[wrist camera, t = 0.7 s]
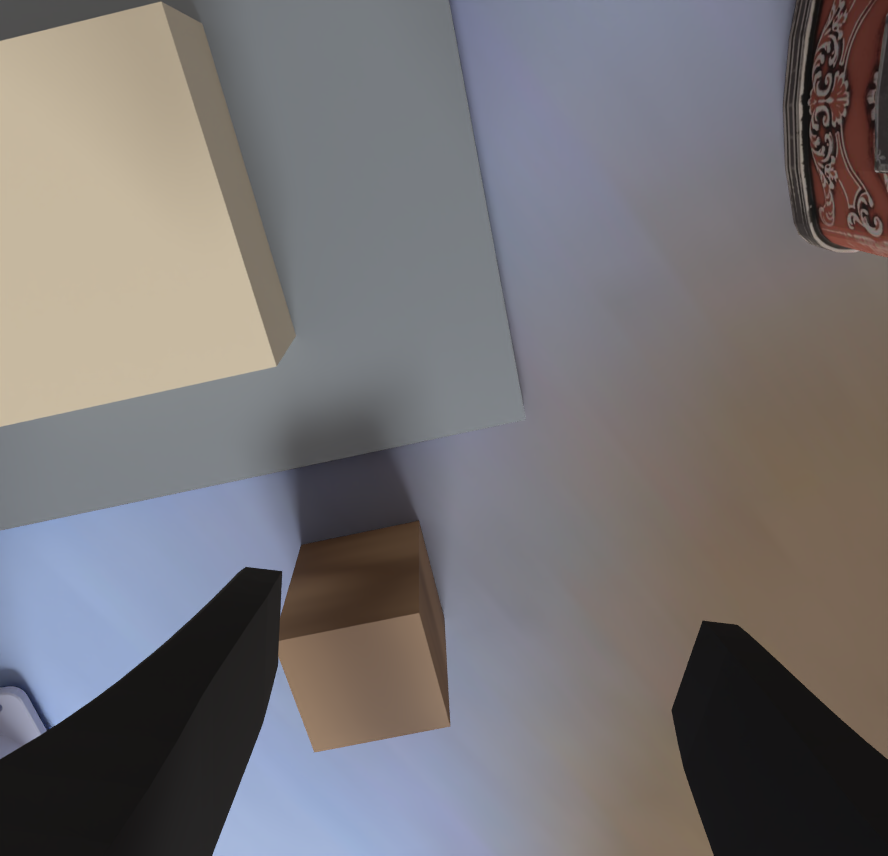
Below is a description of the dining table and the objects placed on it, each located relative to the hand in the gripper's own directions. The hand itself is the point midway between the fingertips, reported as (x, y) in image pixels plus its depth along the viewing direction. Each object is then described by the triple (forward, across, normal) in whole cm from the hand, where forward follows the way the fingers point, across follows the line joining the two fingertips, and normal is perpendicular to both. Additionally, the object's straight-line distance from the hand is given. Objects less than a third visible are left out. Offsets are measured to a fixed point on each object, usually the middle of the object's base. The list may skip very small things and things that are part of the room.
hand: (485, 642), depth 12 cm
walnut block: (+10, +2, +7) cm, 13 cm away
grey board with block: (+10, +10, -4) cm, 15 cm away
